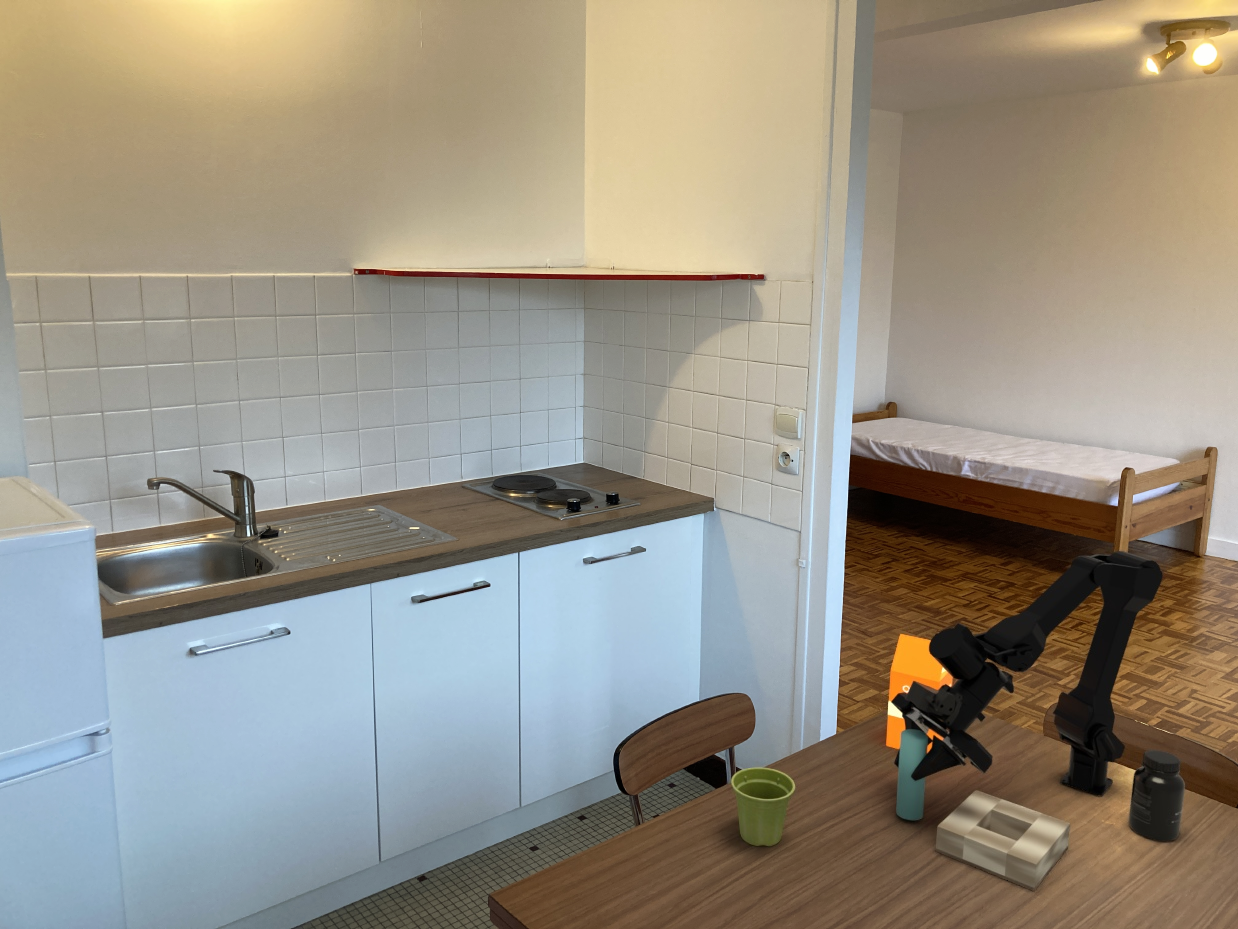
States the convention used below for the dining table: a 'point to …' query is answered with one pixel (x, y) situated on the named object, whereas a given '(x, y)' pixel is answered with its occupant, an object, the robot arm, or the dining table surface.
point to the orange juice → (911, 680)
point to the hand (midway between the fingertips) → (904, 772)
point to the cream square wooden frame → (1003, 839)
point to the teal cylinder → (908, 789)
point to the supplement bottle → (1157, 797)
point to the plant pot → (762, 804)
